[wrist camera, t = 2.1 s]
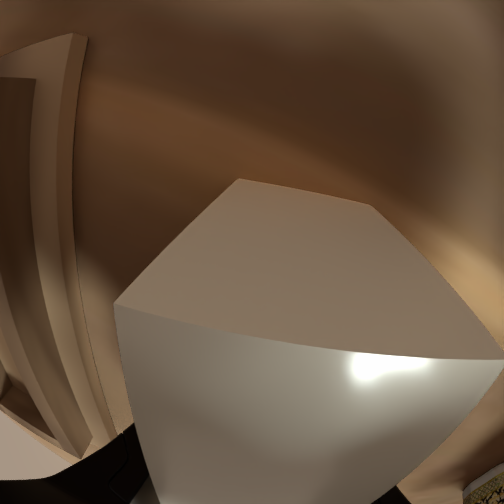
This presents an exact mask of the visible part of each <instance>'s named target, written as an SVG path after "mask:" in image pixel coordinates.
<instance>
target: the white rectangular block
mask: <svg viewBox="0 0 504 504" xmlns="http://www.w3.org/2000/svg"><path fill="white" fill-rule="evenodd" d="M113 306H114V315H115V323H116V330H117V338H118V344H119V351H120V357H121V363H122V368H123V374H124V379H125V384H126V389H127V393H128V398H129V402H130V407H131V411H132V415H133V419H134V423H135V427H136V431H137V434H138V438H139V442H140V445H141V448H142V452H143V455H144V458H145V462H146V465H147V468H148V471H149V474H150V477H151V480H152V483H153V485H154V488H155V491H156V494H157V496H158V499H159V502H160V504H371V503H372V502H374V501H375V500H377V499H378V498H379V497H381V496H382V495H383V494H385V493H386V492H387V491H389V490H390V489H391V488H393V487H394V486H395V485H396V484H398V483H399V482H400V481H401V480H402V479H404V478H405V477H406V476H407V475H408V474H410V473H411V472H412V471H413V470H414V469H415V468H417V467H418V466H419V465H420V464H421V463H422V462H423V461H424V460H425V459H426V458H428V457H429V456H430V455H431V454H432V453H433V452H434V451H435V450H436V449H437V448H438V447H439V446H440V445H441V444H442V443H443V442H444V441H445V440H446V439H447V438H448V437H449V436H450V435H451V433H452V432H453V431H454V430H455V429H456V428H457V427H458V426H459V425H460V424H461V422H462V421H463V420H464V419H465V418H466V417H467V416H468V414H469V413H470V412H471V411H472V410H473V408H474V407H475V406H476V405H477V403H478V402H479V401H480V400H481V398H482V397H483V396H484V395H485V393H486V392H487V391H488V389H489V388H490V387H491V385H492V384H493V382H494V381H495V380H496V378H497V377H498V375H499V374H500V372H501V371H502V369H503V368H504V352H503V350H502V349H501V348H500V346H499V345H498V343H497V342H496V341H495V339H494V338H493V337H492V335H491V334H490V333H489V331H488V330H487V329H486V328H485V326H484V325H483V324H482V322H481V321H480V320H479V319H478V317H477V316H476V315H475V314H474V312H473V311H472V310H471V309H470V308H469V306H468V305H467V304H466V303H465V302H464V300H463V299H462V298H461V297H460V296H459V295H458V293H457V292H456V291H455V290H454V289H453V288H452V287H451V285H450V284H449V283H448V282H447V281H446V280H445V279H444V278H443V276H442V275H441V274H440V273H439V272H438V271H437V270H436V269H435V268H434V267H433V266H432V265H431V263H430V262H429V261H428V260H427V259H426V258H425V257H424V256H423V255H422V254H421V253H420V252H419V251H418V250H417V249H416V248H415V247H414V246H413V245H412V244H411V243H410V242H409V241H408V240H407V239H406V238H405V237H404V236H403V235H402V234H401V233H400V232H399V231H398V230H397V229H396V228H395V227H394V226H393V225H392V224H391V223H390V222H389V221H388V220H386V219H385V218H384V217H383V216H382V215H381V214H380V213H379V212H378V211H377V210H376V209H375V208H373V207H372V206H371V205H369V204H365V203H360V202H356V201H352V200H348V199H343V198H339V197H334V196H330V195H325V194H320V193H315V192H311V191H306V190H301V189H296V188H290V187H285V186H280V185H274V184H269V183H263V182H257V181H252V180H246V179H239V178H238V179H237V180H236V181H235V182H234V183H233V184H231V185H230V186H229V187H228V188H227V189H226V190H225V191H224V192H223V193H222V194H221V195H220V196H219V197H217V198H216V199H215V200H214V201H213V202H212V203H211V204H210V205H209V206H208V207H207V208H206V209H205V210H204V211H203V212H202V213H201V214H200V215H199V216H197V217H196V218H195V219H194V220H193V221H192V222H191V223H190V224H189V225H188V226H187V227H186V228H185V229H184V230H183V231H182V232H181V233H180V234H179V235H178V236H177V237H176V238H175V239H174V240H173V241H172V242H171V243H170V244H169V245H168V246H167V247H166V248H165V249H164V250H163V251H162V252H161V253H160V254H159V255H158V256H157V257H156V258H155V259H154V260H153V261H152V262H151V263H150V264H149V266H148V267H147V268H146V269H145V270H144V271H143V272H142V273H141V274H140V275H139V276H138V277H137V278H136V279H135V280H134V281H133V282H132V283H131V284H130V286H129V287H128V288H127V289H126V290H125V291H124V292H123V293H122V294H121V295H120V296H119V297H118V299H117V300H116V301H115V302H114V303H113Z"/></svg>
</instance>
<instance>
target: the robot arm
mask: <svg viewBox="0 0 504 504" xmlns="http://www.w3.org/2000/svg"><path fill="white" fill-rule="evenodd" d="M0 504H160V502H159V499H158V496H157V494H156V491H155V488H154V485H153V483H152V480H151V477H150V474H149V471H148V468H147V465H146V462H145V458H144V455H143V452H142V448H141V445H140V442H139V438H138V434H137V431H136V427H135V423H133V424H132V425H130V426H129V427H128V428H127V429H125V430H124V431H123V433H120V434H119V435H118V436H117V437H116V438H114V439H113V440H112V441H110V442H109V443H108V444H106V445H105V446H104V447H102V448H101V449H99V450H98V451H96V452H95V453H93V454H91V455H90V456H88V457H86V458H85V459H83V460H81V461H79V462H77V463H76V464H74V465H72V466H70V467H68V468H67V469H65V470H63V471H61V472H59V473H57V474H55V475H53V476H50V477H46V478H41V479H29V480H0ZM371 504H411V503H410V502H409V501H408V499H407V498H406V497H405V496H404V495H403V493H402V492H401V491H400V490H399V489H398V487H397V486H396V485H395V486H394V487H393V488H391V489H390V490H389V491H387V492H386V493H385V494H383V495H382V496H381V497H379V498H378V499H377V500H375V501H374V502H372V503H371Z"/></svg>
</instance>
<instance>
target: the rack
mask: <svg viewBox="0 0 504 504" xmlns="http://www.w3.org/2000/svg"><path fill="white" fill-rule="evenodd" d="M87 41H88V37H86V36H83V35H80V34H77V33H74V32H72V33H68V34H64V35H61V36H57V37H54V38H50V39H47V40H44V41H41V42H38V43H35V44H32V45H29V46H26V47H24V48H21V49H18V50H16V51H13V52H11V53H8V54H6V55H3V56H1V57H0V410H1V411H3V412H4V413H5V414H7V415H8V416H10V417H11V418H12V419H14V420H15V421H17V422H18V423H20V424H21V425H23V426H24V427H26V428H27V429H29V430H30V431H32V432H33V433H35V434H36V435H38V436H40V437H41V438H43V439H45V440H46V441H48V442H50V443H51V444H53V445H55V446H57V447H58V448H60V449H62V450H64V451H66V452H68V453H70V454H72V455H73V456H75V457H77V458H79V459H82V457H83V455H84V453H85V451H86V449H87V447H88V446H89V444H93V445H95V446H97V447H99V448H102V447H104V446H105V445H106V444H108V443H109V442H110V441H112V440H113V439H114V438H116V437H117V433H116V430H115V427H114V425H113V422H112V419H111V416H110V413H109V410H108V407H107V404H106V401H105V398H104V395H103V391H102V388H101V385H100V381H99V378H98V374H97V370H96V366H95V363H94V359H93V355H92V350H91V346H90V342H89V337H88V332H87V328H86V322H85V317H84V312H83V306H82V300H81V294H80V287H79V280H78V272H77V263H76V254H75V243H74V229H73V208H72V160H73V140H74V126H75V116H76V106H77V98H78V91H79V84H80V78H81V72H82V66H83V61H84V55H85V51H86V46H87Z"/></svg>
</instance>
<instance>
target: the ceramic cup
mask: <svg viewBox="0 0 504 504" xmlns="http://www.w3.org/2000/svg"><path fill="white" fill-rule="evenodd" d="M463 504H504V462H503V463H502V464H500V465H498V466H496V467H494V468H492V469H491V470H489V471H488V472H487V473H485V474H484V475H482V476H481V477H479V478H478V479H476V480H474V481H473V482H471V483H470V484H469V485H468V486H467V487H466V488H465V490H464V491H463Z"/></svg>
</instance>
